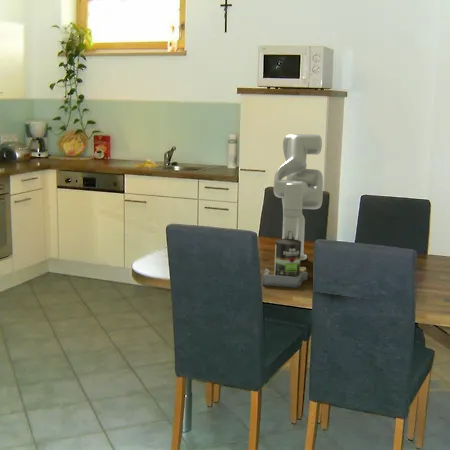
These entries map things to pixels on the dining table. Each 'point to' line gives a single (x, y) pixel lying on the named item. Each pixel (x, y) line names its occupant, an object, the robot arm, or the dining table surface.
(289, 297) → the dining table surface
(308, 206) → the robot arm
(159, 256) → the dining table surface
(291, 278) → the bracket
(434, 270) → the dining table surface
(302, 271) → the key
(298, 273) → the coffee can
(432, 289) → the dining table surface
